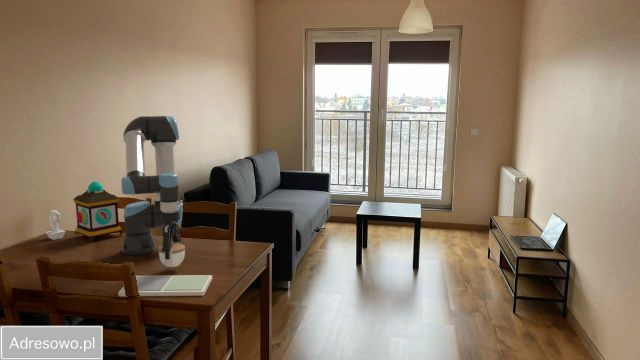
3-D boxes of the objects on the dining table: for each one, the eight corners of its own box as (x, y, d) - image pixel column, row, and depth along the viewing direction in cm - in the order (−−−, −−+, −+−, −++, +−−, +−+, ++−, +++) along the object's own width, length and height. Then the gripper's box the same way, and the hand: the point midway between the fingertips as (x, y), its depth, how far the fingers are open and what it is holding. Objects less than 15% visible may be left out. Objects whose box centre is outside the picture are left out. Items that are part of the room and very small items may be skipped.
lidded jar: (177, 270, 193) (176, 248, 191) (154, 268, 195) (153, 246, 193) (190, 261, 203) (189, 240, 201) (167, 259, 205) (166, 238, 204)
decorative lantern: (108, 229, 264) (104, 177, 260) (126, 235, 252) (122, 180, 247) (71, 237, 249) (66, 181, 244) (88, 244, 237) (84, 185, 232)
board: (118, 296, 172) (118, 291, 172) (135, 279, 189) (134, 275, 189) (203, 295, 173) (203, 290, 173) (212, 278, 190) (212, 274, 190)
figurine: (58, 235, 252) (56, 208, 250) (67, 238, 247) (65, 210, 245) (44, 238, 247) (42, 210, 244) (53, 241, 241) (50, 212, 239)
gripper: (171, 217, 184) (173, 271, 187) (186, 204, 206) (188, 252, 210) (152, 217, 183) (154, 271, 187) (168, 204, 206) (171, 252, 210)
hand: (172, 261), depth 199 cm, fingers closed on lidded jar, 11 cm apart
